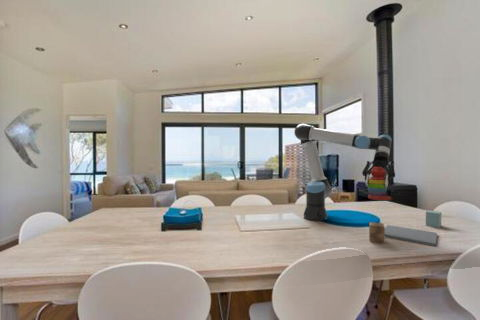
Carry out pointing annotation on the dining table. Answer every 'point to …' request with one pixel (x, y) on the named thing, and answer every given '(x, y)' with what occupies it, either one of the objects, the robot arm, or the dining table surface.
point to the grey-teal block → (433, 218)
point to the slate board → (411, 235)
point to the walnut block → (376, 232)
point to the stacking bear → (377, 184)
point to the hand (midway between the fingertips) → (376, 185)
